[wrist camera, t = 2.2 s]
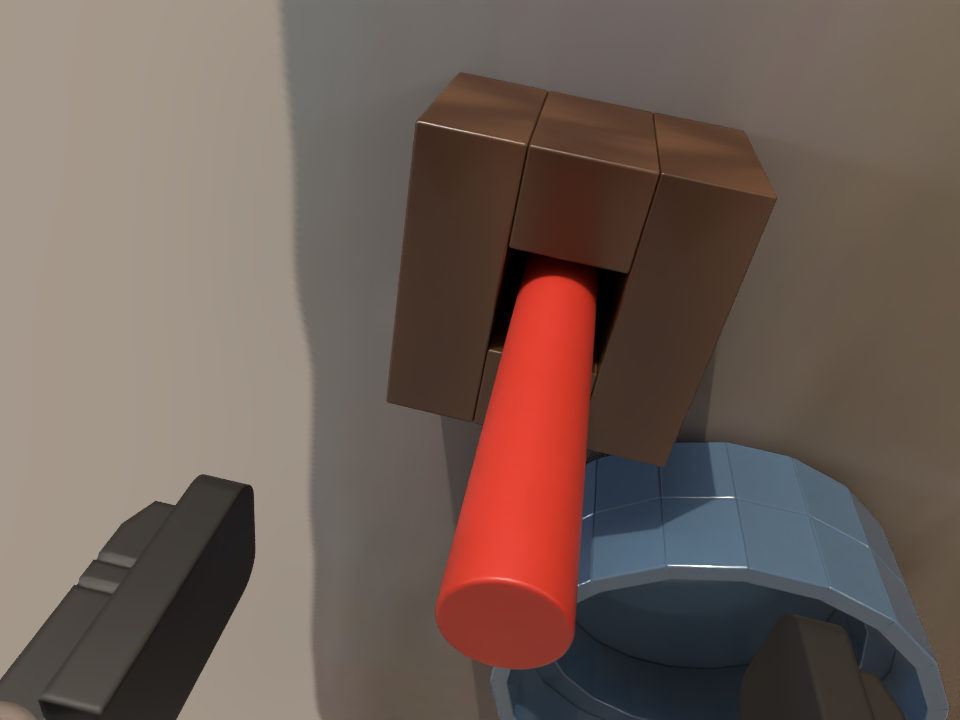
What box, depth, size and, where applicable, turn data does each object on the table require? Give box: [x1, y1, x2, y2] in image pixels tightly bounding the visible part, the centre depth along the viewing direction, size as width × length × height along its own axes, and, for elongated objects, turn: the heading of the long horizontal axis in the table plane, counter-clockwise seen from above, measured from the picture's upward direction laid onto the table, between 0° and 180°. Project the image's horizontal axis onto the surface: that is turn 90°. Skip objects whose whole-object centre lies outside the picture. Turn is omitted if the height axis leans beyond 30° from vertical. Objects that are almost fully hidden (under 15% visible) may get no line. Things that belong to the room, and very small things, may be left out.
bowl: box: [490, 442, 950, 720], centre depth 26 cm, size 14×14×6 cm
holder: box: [386, 73, 777, 467], centre depth 20 cm, size 8×8×5 cm
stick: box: [435, 252, 599, 669], centre depth 16 cm, size 2×2×14 cm
